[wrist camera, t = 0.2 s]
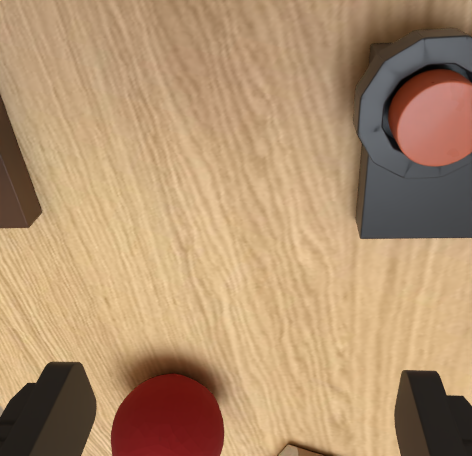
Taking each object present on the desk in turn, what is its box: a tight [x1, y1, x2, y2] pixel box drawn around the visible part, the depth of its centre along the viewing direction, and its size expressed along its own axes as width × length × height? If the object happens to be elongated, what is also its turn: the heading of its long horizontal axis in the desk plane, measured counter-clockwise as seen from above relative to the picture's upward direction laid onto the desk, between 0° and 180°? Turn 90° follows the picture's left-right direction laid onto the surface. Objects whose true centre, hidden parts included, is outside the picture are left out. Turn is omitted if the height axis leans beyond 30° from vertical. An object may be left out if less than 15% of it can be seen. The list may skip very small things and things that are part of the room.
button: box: [388, 69, 472, 166], centre depth 21 cm, size 4×4×2 cm
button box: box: [353, 28, 472, 239], centre depth 24 cm, size 12×12×4 cm
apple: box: [111, 373, 224, 456], centre depth 37 cm, size 9×9×10 cm
